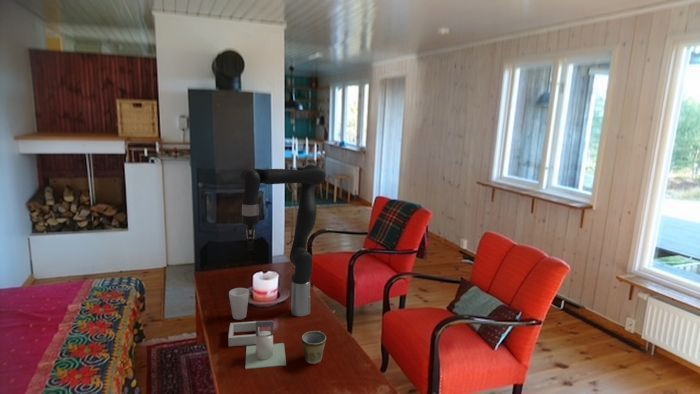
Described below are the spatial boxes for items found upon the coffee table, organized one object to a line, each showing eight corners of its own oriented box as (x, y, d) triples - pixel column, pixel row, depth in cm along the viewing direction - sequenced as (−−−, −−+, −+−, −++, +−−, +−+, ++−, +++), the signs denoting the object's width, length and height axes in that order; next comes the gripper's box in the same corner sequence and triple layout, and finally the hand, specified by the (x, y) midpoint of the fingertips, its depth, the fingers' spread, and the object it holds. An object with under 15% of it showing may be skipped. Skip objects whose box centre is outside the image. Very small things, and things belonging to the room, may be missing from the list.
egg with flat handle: (256, 350, 177) (256, 317, 174) (273, 350, 178) (273, 317, 176) (255, 360, 170) (255, 325, 168) (272, 359, 171) (273, 325, 169)
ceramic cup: (322, 368, 168) (322, 345, 166) (298, 364, 170) (298, 341, 168) (330, 350, 180) (330, 329, 178) (307, 347, 182) (308, 326, 180)
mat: (283, 343, 184) (283, 343, 184) (286, 365, 169) (286, 364, 168) (246, 346, 180) (246, 346, 180) (245, 369, 165) (245, 368, 165)
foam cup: (251, 312, 210) (251, 288, 208) (245, 321, 201) (245, 296, 199) (233, 311, 211) (233, 287, 209) (226, 320, 202) (225, 295, 200)
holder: (259, 328, 195) (259, 321, 195) (259, 344, 183) (259, 335, 182) (230, 331, 193) (230, 323, 192) (228, 346, 180) (228, 338, 179)
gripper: (259, 217, 183) (259, 252, 186) (258, 209, 196) (259, 242, 200) (241, 217, 181) (241, 253, 185) (242, 209, 195) (242, 243, 198)
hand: (250, 247), depth 192 cm, fingers open, 8 cm apart
